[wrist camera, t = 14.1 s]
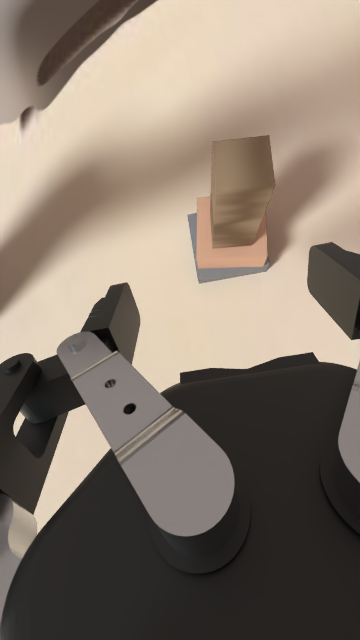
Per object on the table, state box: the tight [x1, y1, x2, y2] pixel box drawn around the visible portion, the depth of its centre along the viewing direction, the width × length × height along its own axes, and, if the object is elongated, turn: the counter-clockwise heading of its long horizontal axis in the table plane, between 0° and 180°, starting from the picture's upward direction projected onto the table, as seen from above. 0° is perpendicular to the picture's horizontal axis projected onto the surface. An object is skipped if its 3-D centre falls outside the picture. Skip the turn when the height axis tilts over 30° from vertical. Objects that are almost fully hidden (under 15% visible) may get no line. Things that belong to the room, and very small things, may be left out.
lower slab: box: [188, 213, 270, 284], centre depth 35 cm, size 9×9×3 cm
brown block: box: [210, 135, 275, 249], centre depth 26 cm, size 4×4×10 cm
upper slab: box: [196, 197, 267, 269], centre depth 32 cm, size 8×8×3 cm
